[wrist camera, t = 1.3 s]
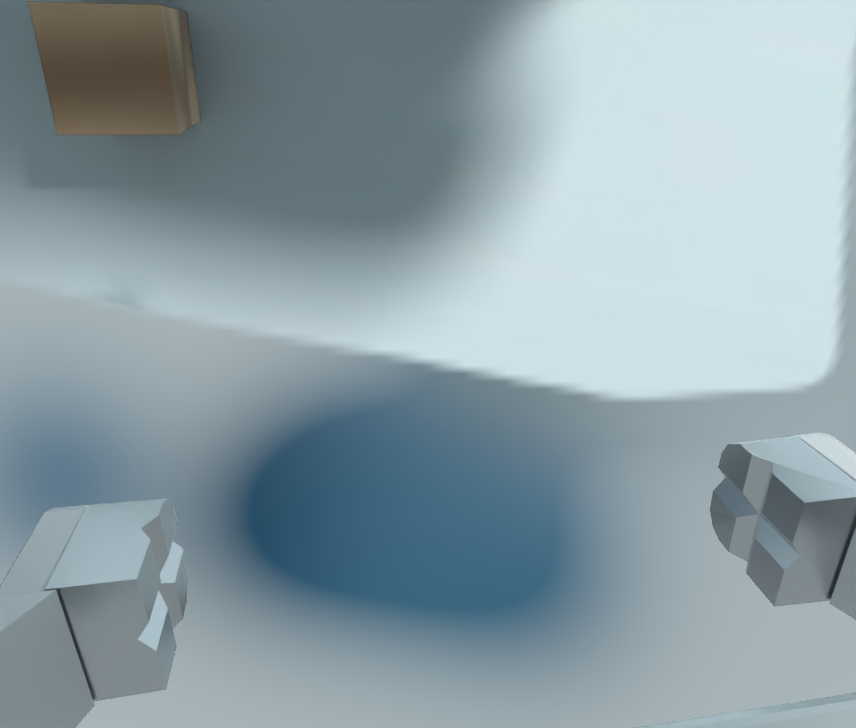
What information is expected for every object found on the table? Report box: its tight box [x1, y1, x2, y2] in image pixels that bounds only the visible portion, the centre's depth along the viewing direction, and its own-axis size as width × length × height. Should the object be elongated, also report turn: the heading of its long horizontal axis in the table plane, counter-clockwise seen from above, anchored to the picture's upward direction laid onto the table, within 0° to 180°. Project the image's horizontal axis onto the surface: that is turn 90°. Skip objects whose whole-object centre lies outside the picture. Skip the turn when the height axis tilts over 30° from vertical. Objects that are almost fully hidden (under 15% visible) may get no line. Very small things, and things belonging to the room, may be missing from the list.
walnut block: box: [28, 2, 201, 135], centre depth 30 cm, size 5×5×6 cm
